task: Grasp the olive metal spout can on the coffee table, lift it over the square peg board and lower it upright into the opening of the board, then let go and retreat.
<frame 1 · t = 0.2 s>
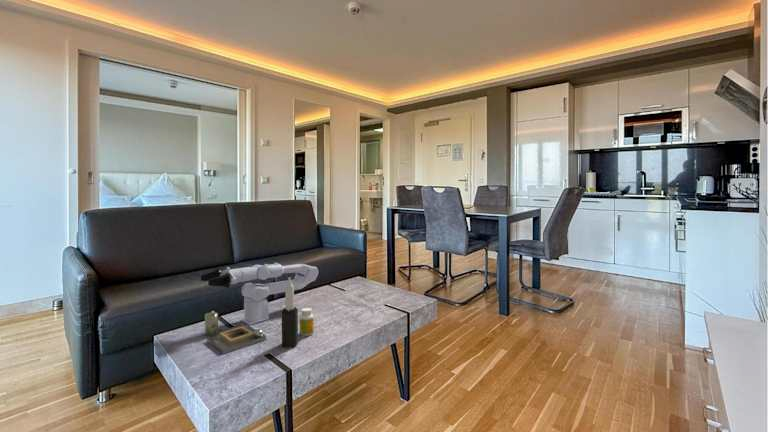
hand: (204, 280, 133), 21 cm above the table, tool horizontal, fingers open, 7 cm apart
supplement bottle: (306, 333, 136), on the table
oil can: (211, 334, 134), on the table
square peg board: (236, 340, 129), on the table
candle: (290, 345, 126), on the table
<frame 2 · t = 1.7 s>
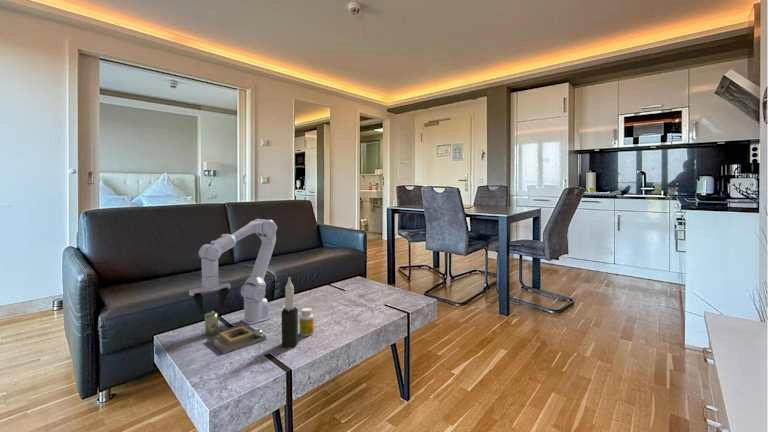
hand: (211, 309, 134), 10 cm above the table, tool pointing down, fingers open, 7 cm apart
nothing on the table moved.
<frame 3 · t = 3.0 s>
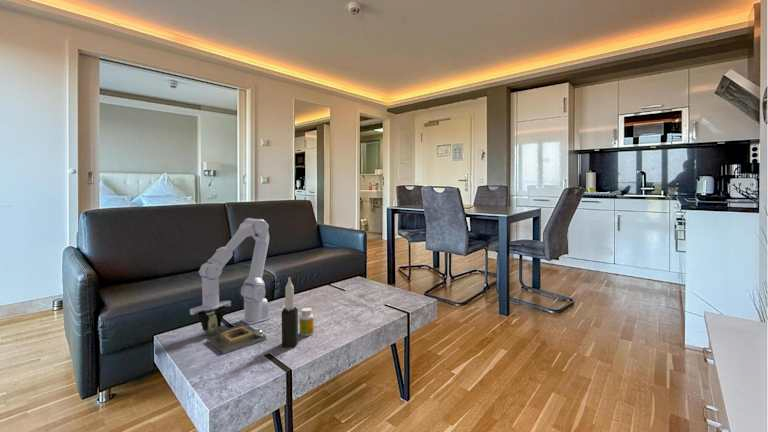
hand: (211, 328, 134), 2 cm above the table, tool pointing down, fingers closed on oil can, 5 cm apart
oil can: (211, 334, 134), on the table, touching gripper
everything else where it was.
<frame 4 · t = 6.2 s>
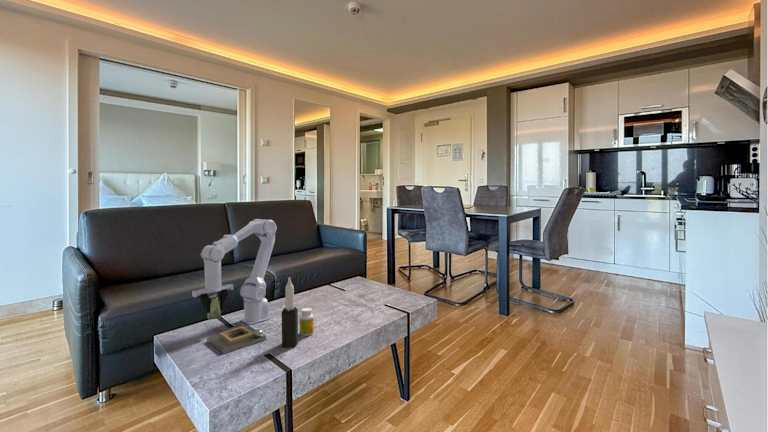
hand: (214, 311, 133), 9 cm above the table, tool pointing down, fingers closed on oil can, 5 cm apart
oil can: (214, 317, 133), point 7 cm above the table, touching gripper
everything else where it was.
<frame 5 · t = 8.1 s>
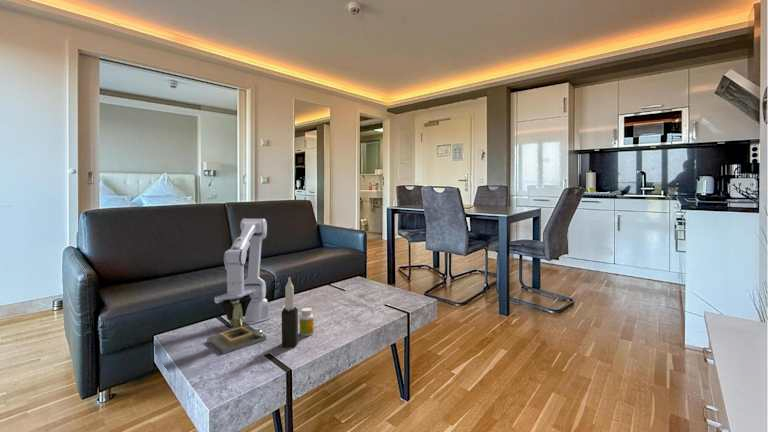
hand: (236, 317, 128), 9 cm above the table, tool pointing down, fingers closed on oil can, 5 cm apart
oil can: (236, 324, 128), point 6 cm above the table, touching gripper
everything else where it was.
when the fingers open (4 cm above the table, at t = 9.6 s): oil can drops 2 cm, resting in square peg board.
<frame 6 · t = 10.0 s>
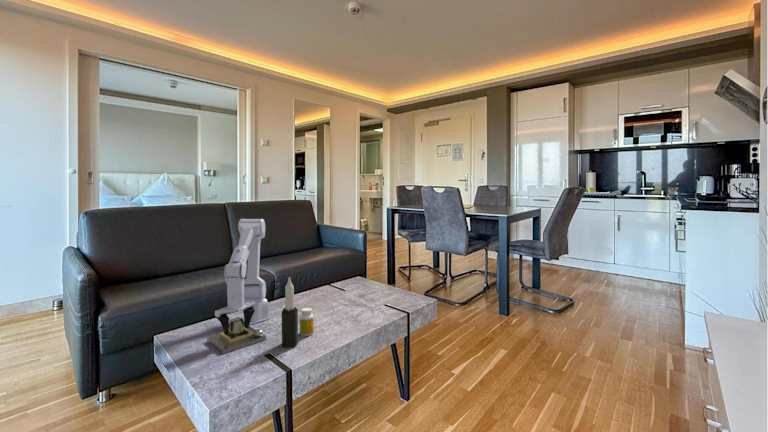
hand: (236, 330, 128), 4 cm above the table, tool pointing down, fingers open, 7 cm apart
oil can: (236, 340, 129), resting in square peg board
everything else where it was.
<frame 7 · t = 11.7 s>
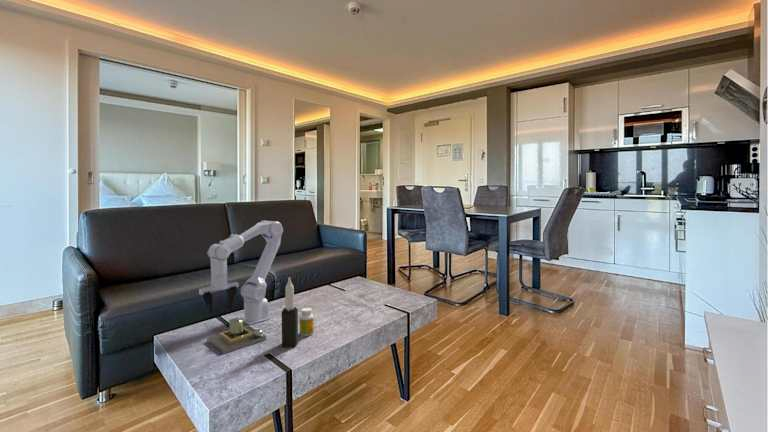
hand: (220, 308, 136), 9 cm above the table, tool pointing down, fingers open, 7 cm apart
nothing on the table moved.
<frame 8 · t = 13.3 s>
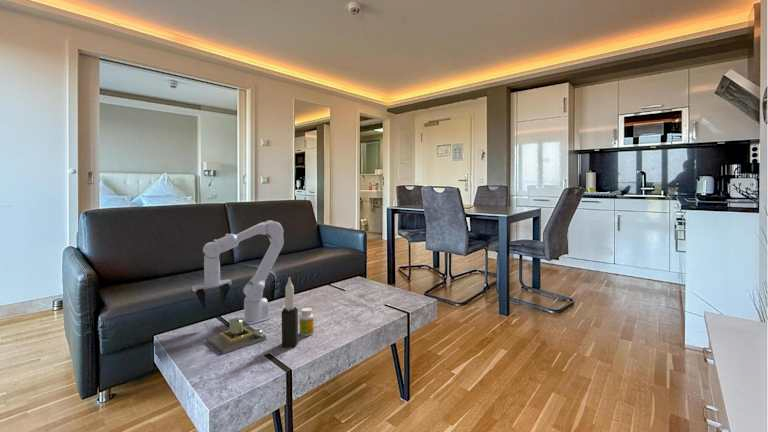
hand: (213, 305, 140), 9 cm above the table, tool pointing down, fingers open, 7 cm apart
nothing on the table moved.
at the end: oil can 0.1 cm off-centre on the square peg board, point 0.0 cm above the square peg board's base; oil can tilted 0°; the gripper is holding nothing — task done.
